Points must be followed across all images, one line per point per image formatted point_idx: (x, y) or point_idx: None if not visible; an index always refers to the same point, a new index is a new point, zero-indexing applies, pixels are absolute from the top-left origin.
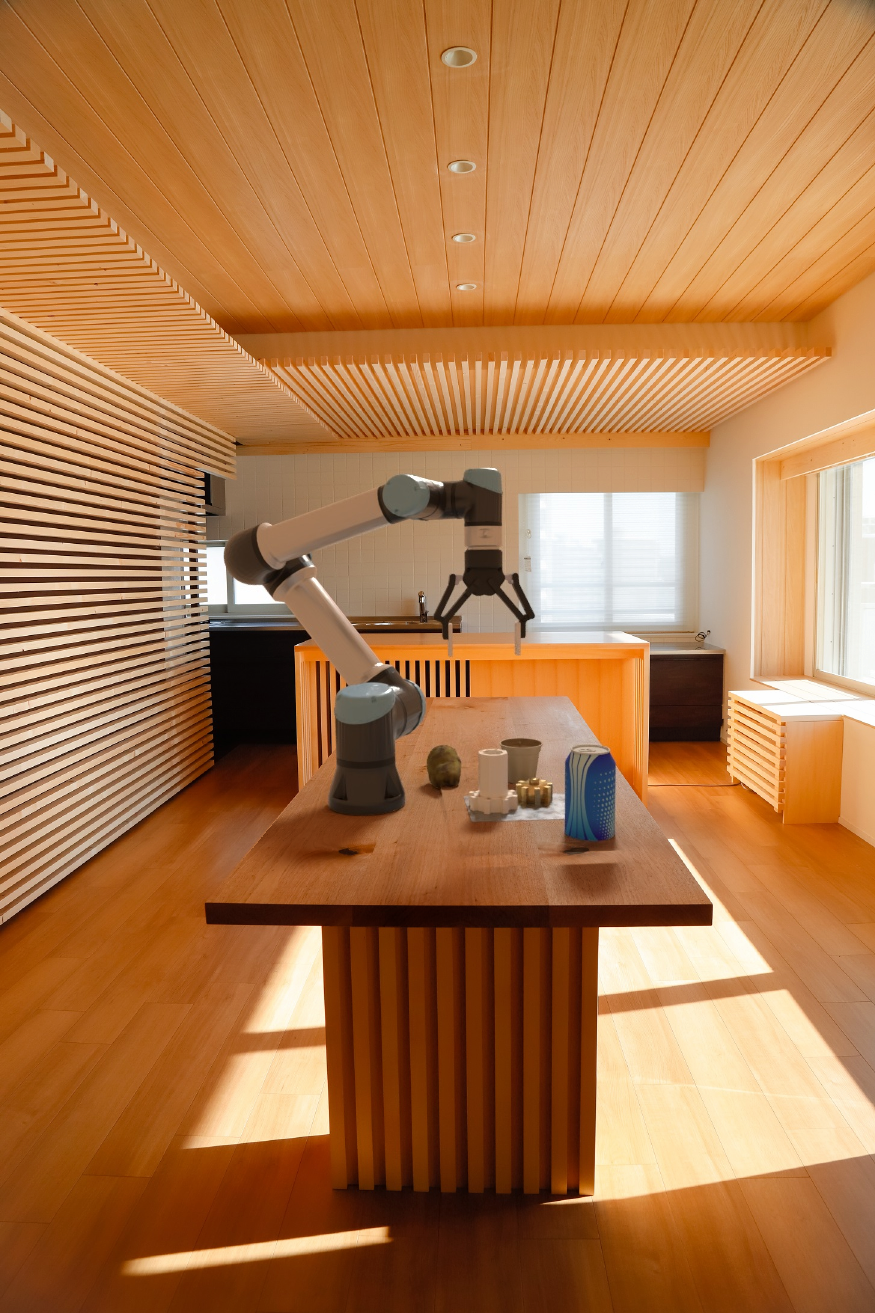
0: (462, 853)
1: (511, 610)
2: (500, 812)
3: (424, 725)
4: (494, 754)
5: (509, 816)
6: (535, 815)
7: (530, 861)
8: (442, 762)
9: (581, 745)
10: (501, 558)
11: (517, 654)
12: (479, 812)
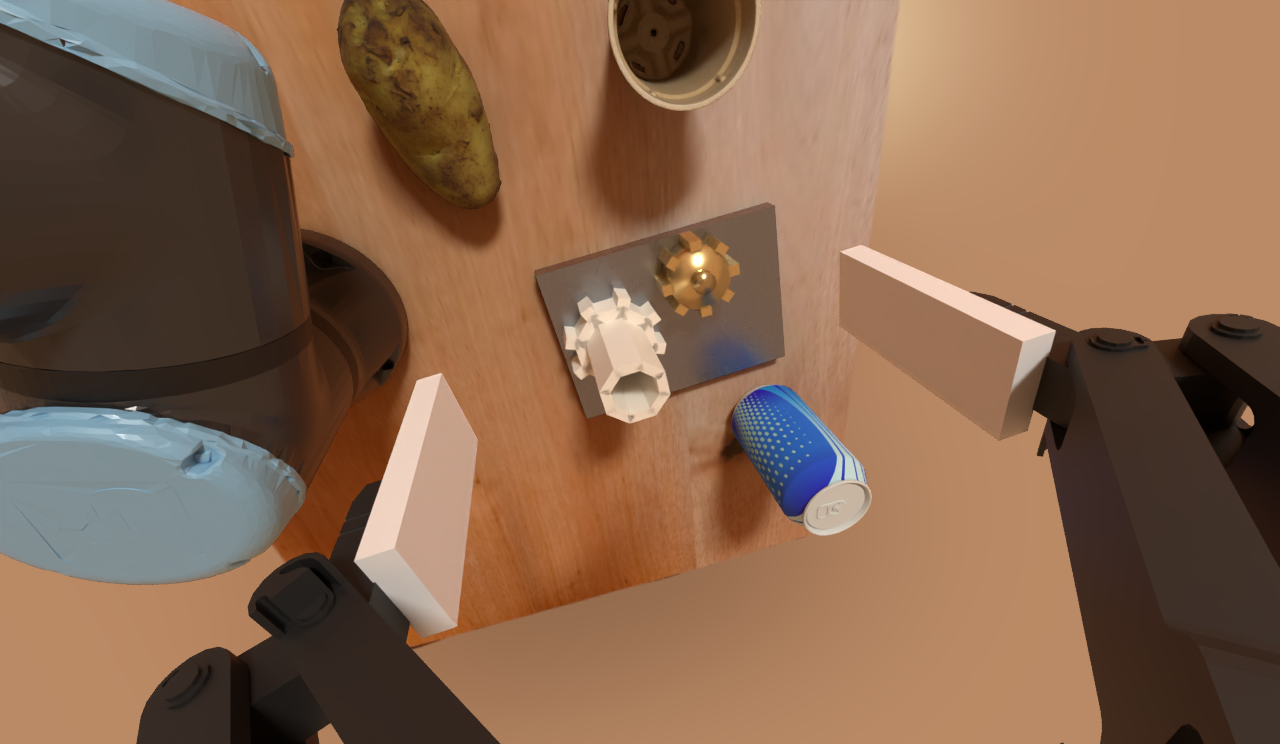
0: (588, 490)
1: (1068, 521)
2: None
3: None
4: (641, 411)
5: None
6: (691, 365)
7: (679, 489)
8: (431, 148)
9: (829, 488)
10: None
11: (845, 328)
12: None
